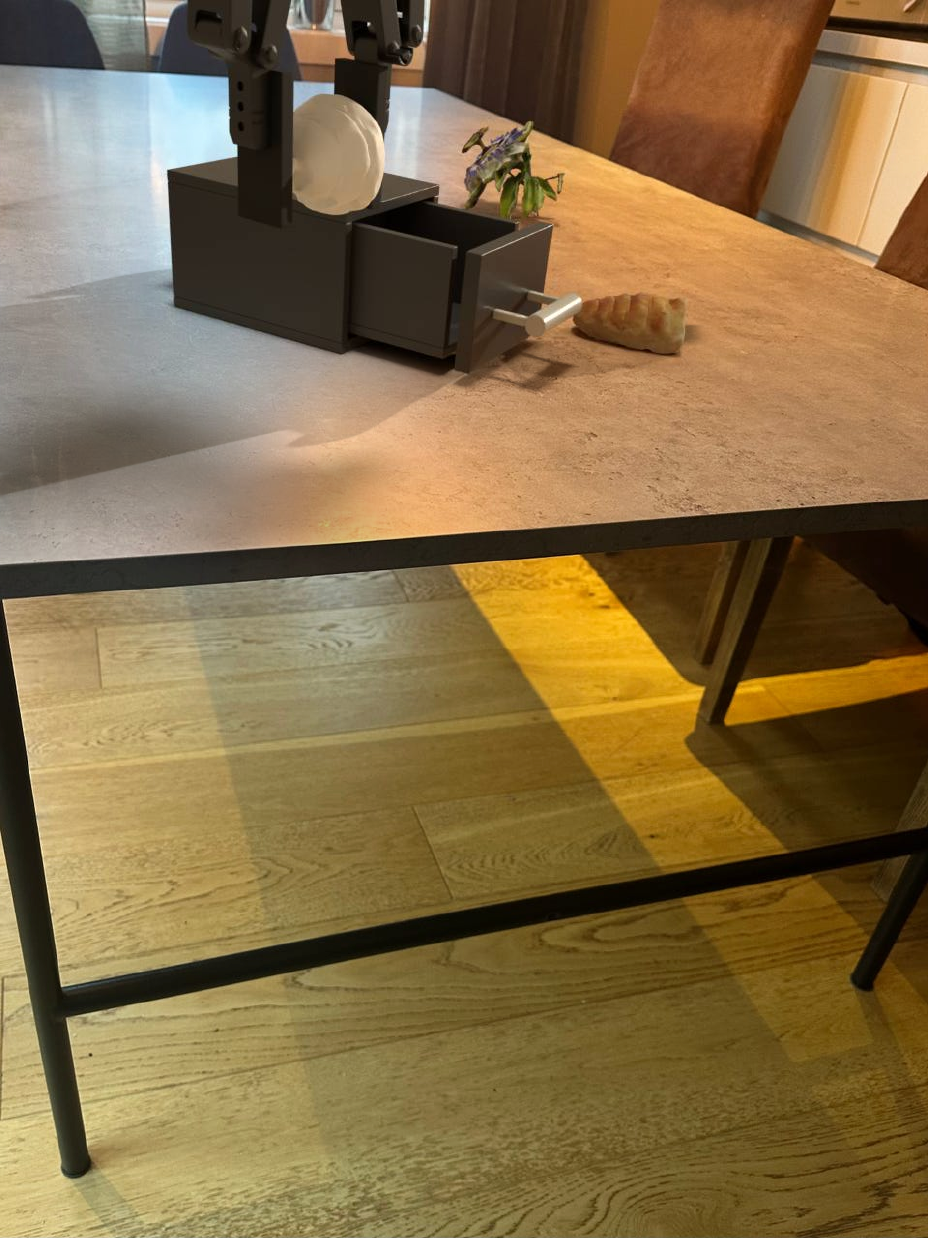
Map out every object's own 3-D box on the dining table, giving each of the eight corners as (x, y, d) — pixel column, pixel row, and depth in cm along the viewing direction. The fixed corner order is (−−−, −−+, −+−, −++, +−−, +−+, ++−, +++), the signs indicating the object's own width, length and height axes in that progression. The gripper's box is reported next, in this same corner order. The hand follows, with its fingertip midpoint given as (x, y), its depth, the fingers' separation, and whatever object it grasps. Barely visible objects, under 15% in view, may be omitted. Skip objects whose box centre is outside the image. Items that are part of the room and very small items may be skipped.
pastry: (568, 341, 85) (576, 294, 83) (572, 317, 91) (579, 272, 89) (684, 358, 84) (694, 311, 82) (681, 332, 90) (690, 288, 88)
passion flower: (467, 256, 124) (451, 155, 124) (557, 244, 125) (542, 144, 125) (475, 219, 113) (458, 109, 112) (574, 206, 113) (557, 97, 113)
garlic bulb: (228, 213, 51) (225, 89, 48) (307, 197, 55) (309, 82, 52) (316, 238, 49) (319, 110, 46) (391, 219, 53) (398, 101, 50)
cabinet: (429, 311, 88) (439, 184, 82) (341, 354, 77) (346, 211, 72) (275, 271, 93) (275, 148, 87) (173, 305, 83) (166, 169, 77)
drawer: (587, 344, 82) (605, 235, 78) (522, 389, 73) (539, 268, 68) (382, 290, 88) (388, 186, 84) (297, 326, 79) (299, 211, 74)
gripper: (213, -543, 31) (229, 262, 43) (540, -369, 44) (480, 203, 57) (43, -524, 34) (106, 221, 46) (399, -367, 47) (371, 175, 60)
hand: (312, 210), depth 52 cm, fingers closed on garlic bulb, 6 cm apart
